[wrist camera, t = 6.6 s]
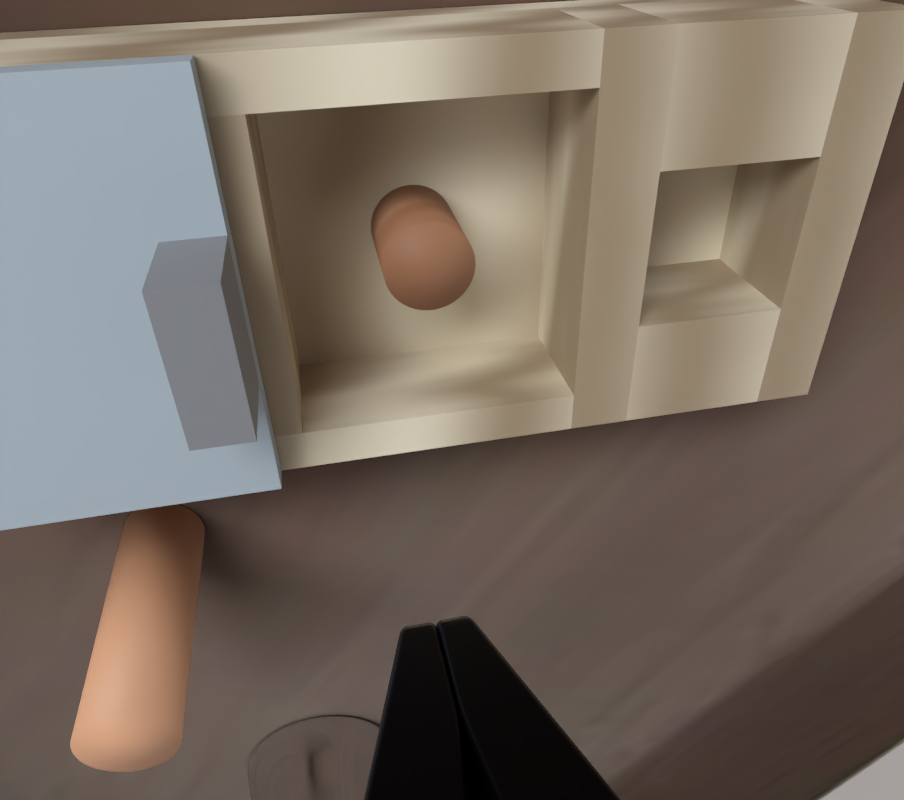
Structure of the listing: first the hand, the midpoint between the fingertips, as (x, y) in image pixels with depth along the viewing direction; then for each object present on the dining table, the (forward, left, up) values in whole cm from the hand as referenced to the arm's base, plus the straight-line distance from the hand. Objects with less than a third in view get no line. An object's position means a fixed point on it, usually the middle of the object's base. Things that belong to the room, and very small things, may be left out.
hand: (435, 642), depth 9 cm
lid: (+6, -1, -8) cm, 10 cm away
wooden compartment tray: (0, -1, -12) cm, 12 cm away
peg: (+7, +9, -12) cm, 16 cm away
